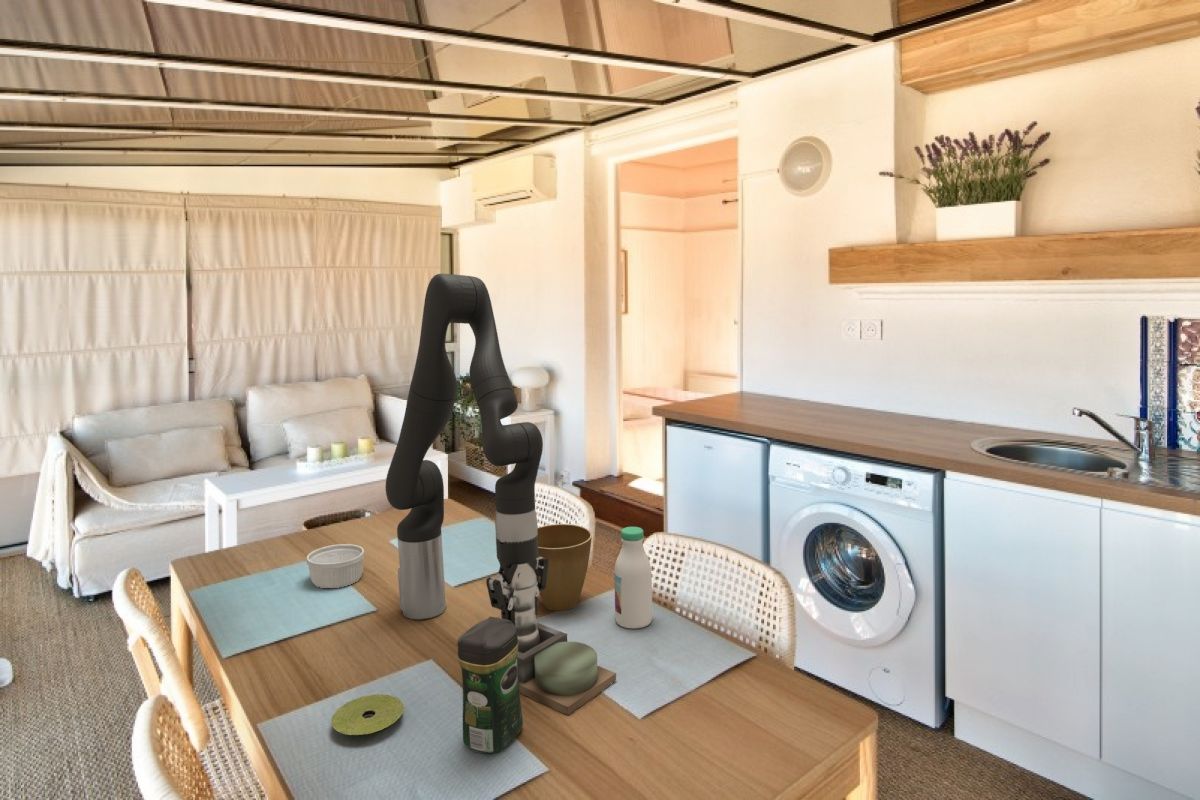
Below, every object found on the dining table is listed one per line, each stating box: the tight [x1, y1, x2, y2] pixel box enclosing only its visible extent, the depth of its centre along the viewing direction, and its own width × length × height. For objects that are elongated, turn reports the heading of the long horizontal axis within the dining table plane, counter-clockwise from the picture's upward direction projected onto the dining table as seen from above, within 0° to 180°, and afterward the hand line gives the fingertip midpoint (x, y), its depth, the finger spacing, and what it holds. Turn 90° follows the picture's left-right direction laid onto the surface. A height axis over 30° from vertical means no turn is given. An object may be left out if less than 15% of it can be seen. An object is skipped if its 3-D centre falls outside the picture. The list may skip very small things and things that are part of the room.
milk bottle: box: [614, 526, 653, 630], centre depth 149 cm, size 8×8×20 cm
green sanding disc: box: [330, 693, 405, 736], centre depth 117 cm, size 11×11×2 cm
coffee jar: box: [457, 616, 524, 754], centre depth 111 cm, size 10×8×19 cm
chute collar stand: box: [517, 621, 617, 716], centre depth 130 cm, size 24×13×6 cm, turn 51°
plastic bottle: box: [502, 563, 540, 653], centre depth 132 cm, size 6×7×20 cm
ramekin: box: [306, 543, 365, 589], centre depth 175 cm, size 13×13×7 cm
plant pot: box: [537, 523, 593, 612], centre depth 158 cm, size 15×15×16 cm
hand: (520, 620), depth 132 cm, fingers closed on plastic bottle, 5 cm apart
